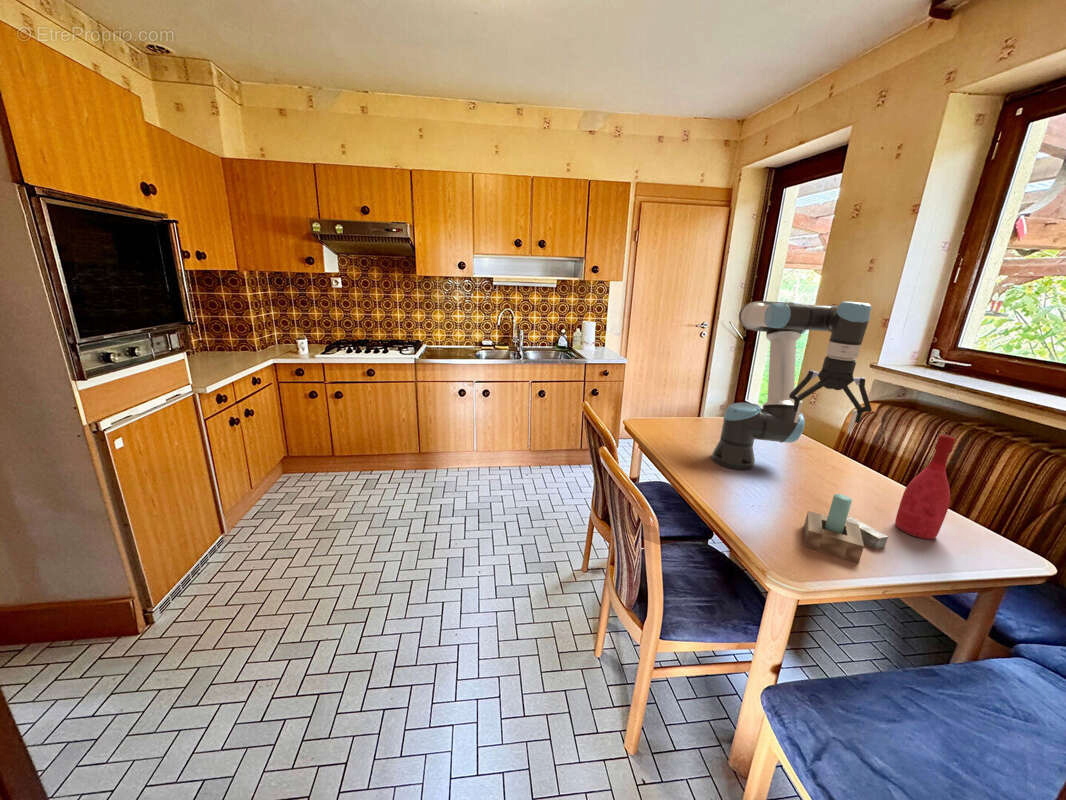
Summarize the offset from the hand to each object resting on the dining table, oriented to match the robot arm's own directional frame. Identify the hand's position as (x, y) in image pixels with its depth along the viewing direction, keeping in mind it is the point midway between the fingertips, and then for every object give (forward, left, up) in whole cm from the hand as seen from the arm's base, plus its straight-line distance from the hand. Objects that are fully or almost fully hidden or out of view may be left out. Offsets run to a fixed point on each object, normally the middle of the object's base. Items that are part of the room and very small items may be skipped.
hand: (821, 426), depth 128 cm
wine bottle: (+29, +4, -27) cm, 40 cm away
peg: (+7, -19, -27) cm, 34 cm away
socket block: (+7, -19, -27) cm, 34 cm away
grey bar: (+15, -10, -27) cm, 33 cm away
